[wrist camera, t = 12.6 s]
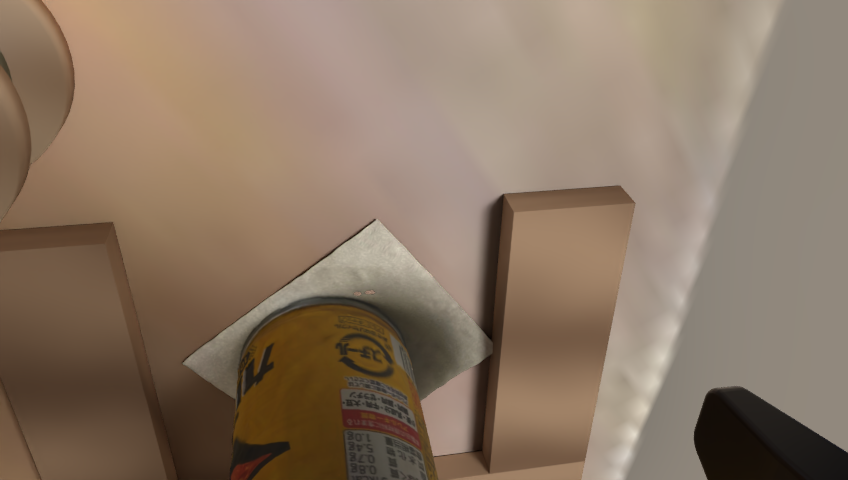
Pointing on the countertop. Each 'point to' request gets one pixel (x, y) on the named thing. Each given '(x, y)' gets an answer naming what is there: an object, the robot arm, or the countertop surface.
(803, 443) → the robot arm
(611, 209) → the brown frame
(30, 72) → the spool
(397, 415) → the condiment
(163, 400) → the countertop surface
